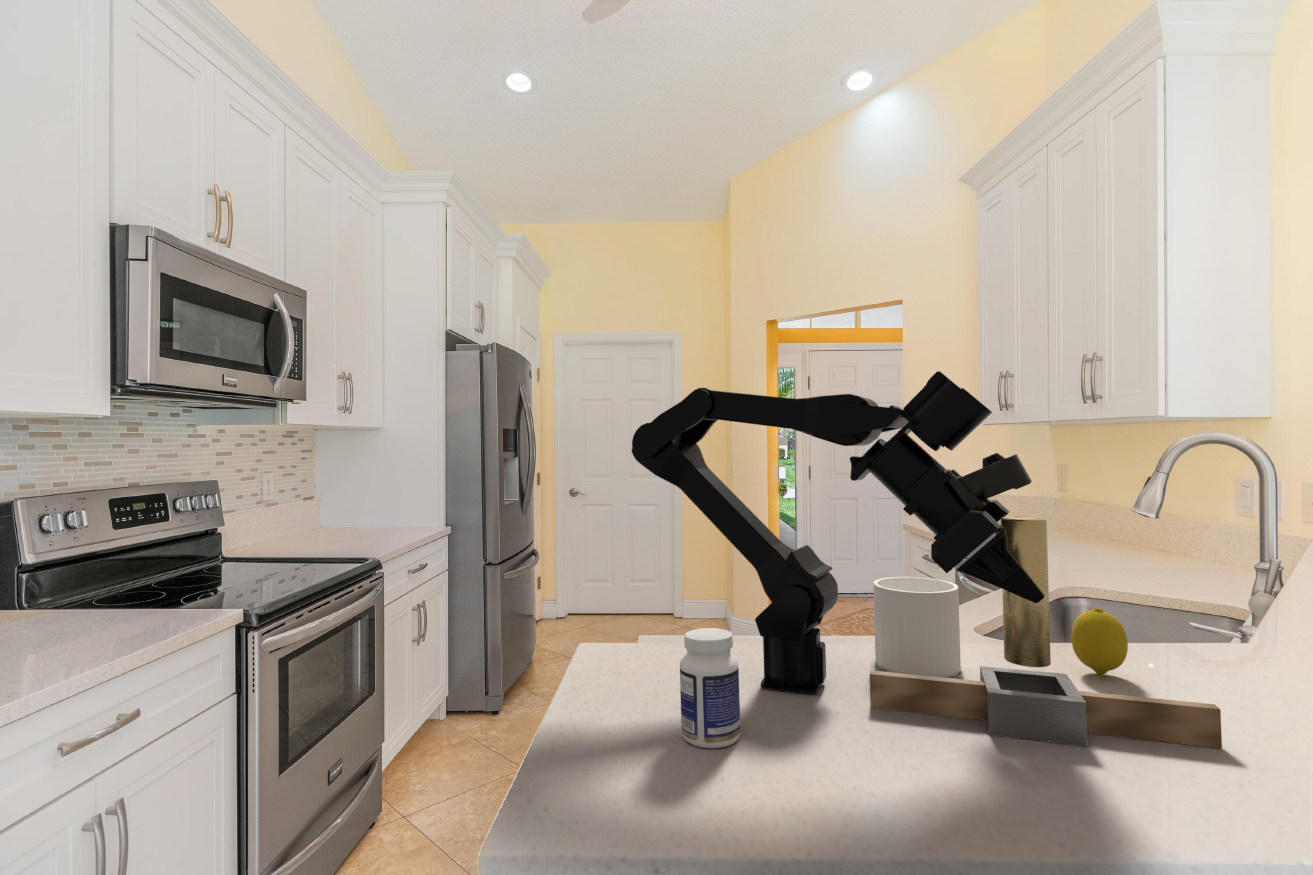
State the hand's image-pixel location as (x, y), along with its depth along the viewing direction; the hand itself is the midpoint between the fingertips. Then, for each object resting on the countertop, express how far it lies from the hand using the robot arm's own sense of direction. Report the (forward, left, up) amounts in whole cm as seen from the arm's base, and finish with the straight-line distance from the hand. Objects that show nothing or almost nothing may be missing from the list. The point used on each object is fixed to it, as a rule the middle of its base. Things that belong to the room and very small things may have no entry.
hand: (1041, 595), depth 64 cm
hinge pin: (-1, 0, -7) cm, 7 cm away
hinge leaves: (-1, 0, -13) cm, 13 cm away
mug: (-12, +16, -13) cm, 24 cm away
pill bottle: (-30, -13, -13) cm, 35 cm away
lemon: (+9, +18, -13) cm, 24 cm away
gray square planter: (-1, 0, -13) cm, 13 cm away
